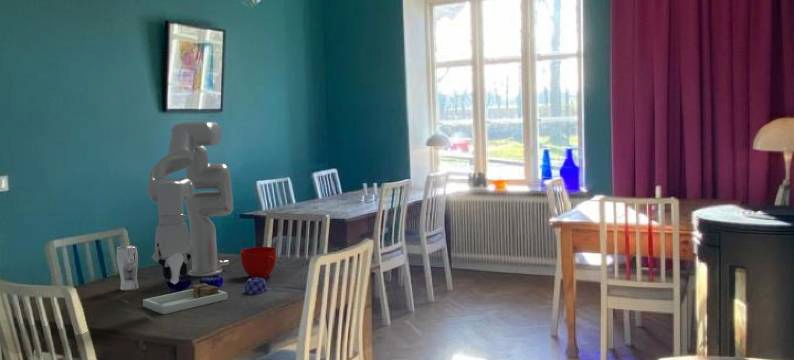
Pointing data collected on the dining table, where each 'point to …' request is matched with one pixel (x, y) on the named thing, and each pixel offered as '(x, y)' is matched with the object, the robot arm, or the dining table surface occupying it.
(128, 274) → the beer glass
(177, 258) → the lightbulb
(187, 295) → the tray
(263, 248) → the ceramic cup
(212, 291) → the walnut block
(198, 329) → the dining table surface
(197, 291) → the walnut block
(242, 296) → the dining table surface
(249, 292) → the pudding
